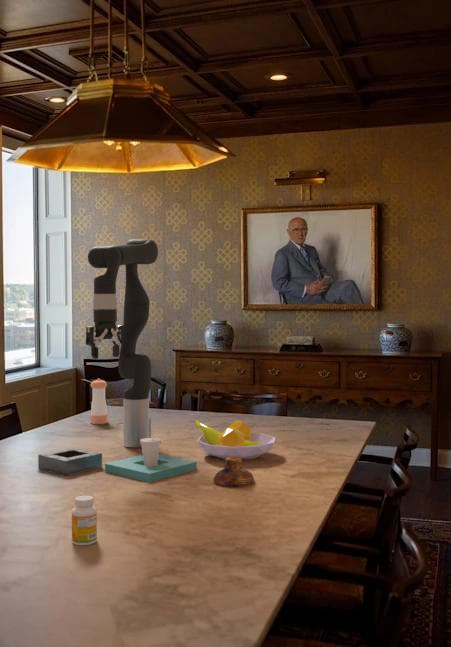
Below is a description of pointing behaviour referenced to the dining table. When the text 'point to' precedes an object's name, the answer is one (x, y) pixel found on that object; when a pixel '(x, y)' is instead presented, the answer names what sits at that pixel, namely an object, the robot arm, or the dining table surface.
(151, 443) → the smoothie
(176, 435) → the dining table surface
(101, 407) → the pepper shaker
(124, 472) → the low socket
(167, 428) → the dining table surface
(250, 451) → the fruit bowl
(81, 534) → the supplement bottle
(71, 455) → the tall socket
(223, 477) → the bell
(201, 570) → the dining table surface
